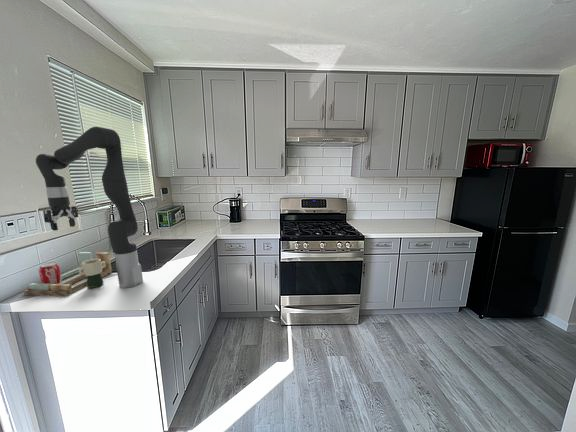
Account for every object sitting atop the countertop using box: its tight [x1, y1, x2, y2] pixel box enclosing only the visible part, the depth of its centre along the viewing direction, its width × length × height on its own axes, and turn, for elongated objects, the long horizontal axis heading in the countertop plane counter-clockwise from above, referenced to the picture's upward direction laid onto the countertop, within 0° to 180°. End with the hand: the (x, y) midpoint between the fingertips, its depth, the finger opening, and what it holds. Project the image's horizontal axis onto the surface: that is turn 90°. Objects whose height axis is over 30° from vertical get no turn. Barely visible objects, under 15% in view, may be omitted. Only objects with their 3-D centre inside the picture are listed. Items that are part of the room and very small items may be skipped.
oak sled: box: [49, 251, 113, 295], centre depth 121 cm, size 10×25×11 cm, turn 176°
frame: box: [23, 270, 71, 297], centre depth 119 cm, size 22×23×2 cm
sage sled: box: [28, 251, 94, 291], centre depth 122 cm, size 10×25×11 cm, turn 176°
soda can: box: [38, 262, 63, 284], centre depth 115 cm, size 7×7×12 cm
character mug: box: [78, 258, 106, 288], centre depth 116 cm, size 11×7×13 cm, turn 152°
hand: (64, 228), depth 118 cm, fingers open, 8 cm apart
